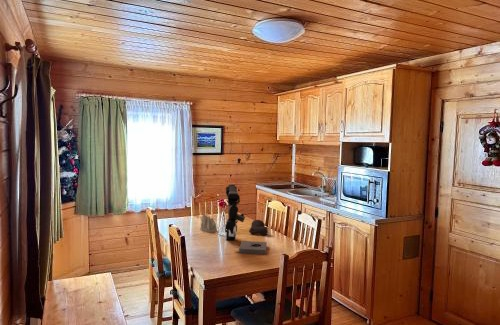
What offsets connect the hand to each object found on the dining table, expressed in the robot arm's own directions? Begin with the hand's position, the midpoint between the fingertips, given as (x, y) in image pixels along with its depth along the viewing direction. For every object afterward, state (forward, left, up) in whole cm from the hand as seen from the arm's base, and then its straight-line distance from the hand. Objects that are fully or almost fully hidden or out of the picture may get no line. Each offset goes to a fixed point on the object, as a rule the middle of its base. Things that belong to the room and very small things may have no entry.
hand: (232, 232), depth 244 cm
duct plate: (+15, -1, -11) cm, 19 cm away
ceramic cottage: (-25, +45, -11) cm, 53 cm away
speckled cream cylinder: (0, 0, -2) cm, 2 cm away
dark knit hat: (+16, +42, -11) cm, 46 cm away
